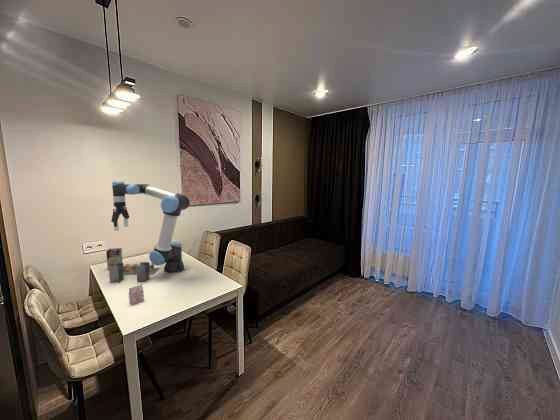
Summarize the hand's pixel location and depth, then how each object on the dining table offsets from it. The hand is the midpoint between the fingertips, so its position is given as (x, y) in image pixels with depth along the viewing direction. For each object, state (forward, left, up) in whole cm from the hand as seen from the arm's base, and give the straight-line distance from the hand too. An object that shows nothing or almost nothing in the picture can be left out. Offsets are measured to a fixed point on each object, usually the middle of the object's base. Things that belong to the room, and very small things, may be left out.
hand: (121, 228), depth 176 cm
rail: (-10, +2, -34) cm, 36 cm away
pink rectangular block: (-31, +48, -35) cm, 67 cm away
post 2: (-22, +18, -35) cm, 45 cm away
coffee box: (+10, -6, -35) cm, 37 cm away
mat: (-10, +2, -35) cm, 36 cm away
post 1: (-4, +18, -35) cm, 39 cm away
